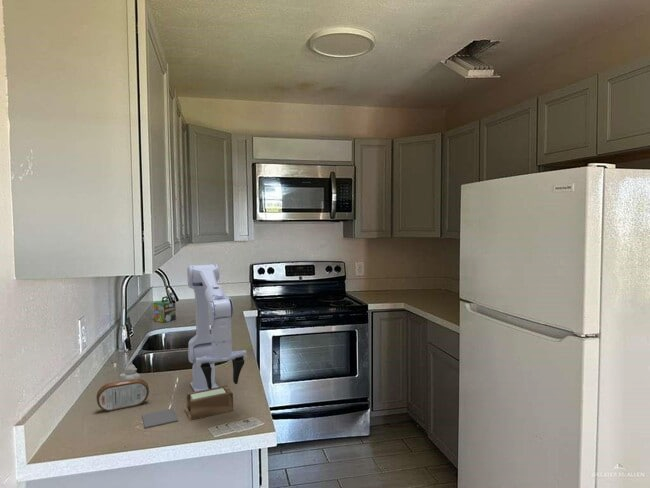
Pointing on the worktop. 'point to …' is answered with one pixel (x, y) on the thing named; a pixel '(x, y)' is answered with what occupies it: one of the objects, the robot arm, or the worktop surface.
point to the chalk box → (164, 311)
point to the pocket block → (209, 404)
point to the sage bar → (207, 394)
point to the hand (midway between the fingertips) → (222, 385)
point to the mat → (159, 418)
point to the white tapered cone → (130, 373)
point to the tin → (122, 394)
